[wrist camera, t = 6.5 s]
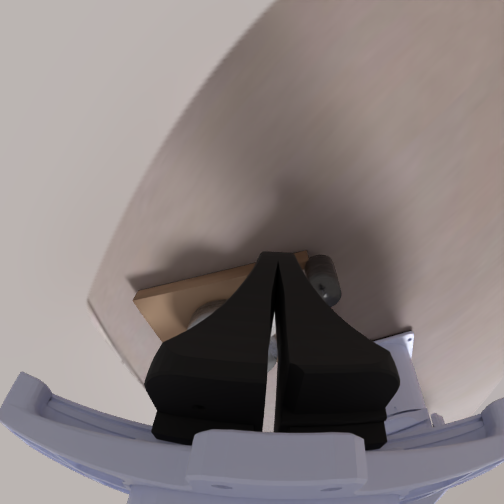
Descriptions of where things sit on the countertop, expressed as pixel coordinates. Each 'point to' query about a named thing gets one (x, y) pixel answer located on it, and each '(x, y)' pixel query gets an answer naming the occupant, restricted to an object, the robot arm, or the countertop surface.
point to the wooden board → (190, 297)
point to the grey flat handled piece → (319, 276)
